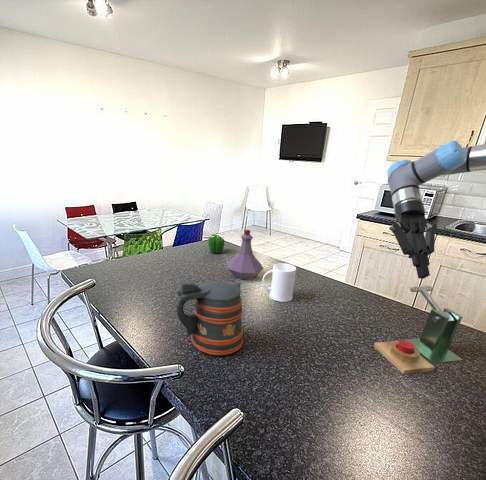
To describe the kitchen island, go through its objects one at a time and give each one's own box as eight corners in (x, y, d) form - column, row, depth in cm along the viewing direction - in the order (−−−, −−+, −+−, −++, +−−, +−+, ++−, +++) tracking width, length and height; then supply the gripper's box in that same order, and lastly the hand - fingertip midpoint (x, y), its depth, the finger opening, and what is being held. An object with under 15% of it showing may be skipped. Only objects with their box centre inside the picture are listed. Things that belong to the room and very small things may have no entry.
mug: (261, 301, 106) (264, 270, 101) (259, 290, 114) (262, 261, 109) (294, 302, 105) (299, 272, 100) (290, 292, 113) (294, 263, 108)
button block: (399, 346, 83) (403, 335, 81) (432, 374, 73) (437, 361, 71) (372, 349, 82) (376, 337, 80) (402, 377, 72) (406, 364, 70)
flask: (259, 285, 118) (264, 237, 110) (220, 279, 123) (222, 233, 115) (265, 270, 132) (270, 227, 124) (230, 265, 137) (232, 223, 129)
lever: (408, 290, 84) (413, 284, 82) (426, 289, 85) (431, 283, 83) (434, 326, 76) (440, 321, 74) (454, 324, 77) (461, 320, 75)
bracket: (402, 342, 85) (416, 304, 80) (429, 340, 86) (444, 302, 81) (431, 366, 76) (448, 324, 70) (461, 363, 77) (480, 322, 72)
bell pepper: (224, 250, 158) (225, 232, 154) (223, 255, 150) (224, 236, 146) (209, 249, 159) (209, 231, 155) (207, 254, 151) (207, 235, 147)
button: (405, 345, 78) (407, 339, 77) (416, 353, 75) (418, 348, 74) (393, 346, 77) (395, 340, 77) (403, 354, 74) (405, 349, 73)
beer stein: (191, 369, 72) (191, 298, 64) (169, 338, 84) (166, 275, 76) (253, 347, 81) (259, 282, 73) (224, 321, 93) (227, 263, 85)
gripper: (421, 213, 94) (438, 282, 85) (380, 212, 94) (392, 280, 86) (438, 199, 87) (458, 272, 78) (393, 198, 87) (408, 270, 79)
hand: (424, 276), depth 82 cm, fingers closed
